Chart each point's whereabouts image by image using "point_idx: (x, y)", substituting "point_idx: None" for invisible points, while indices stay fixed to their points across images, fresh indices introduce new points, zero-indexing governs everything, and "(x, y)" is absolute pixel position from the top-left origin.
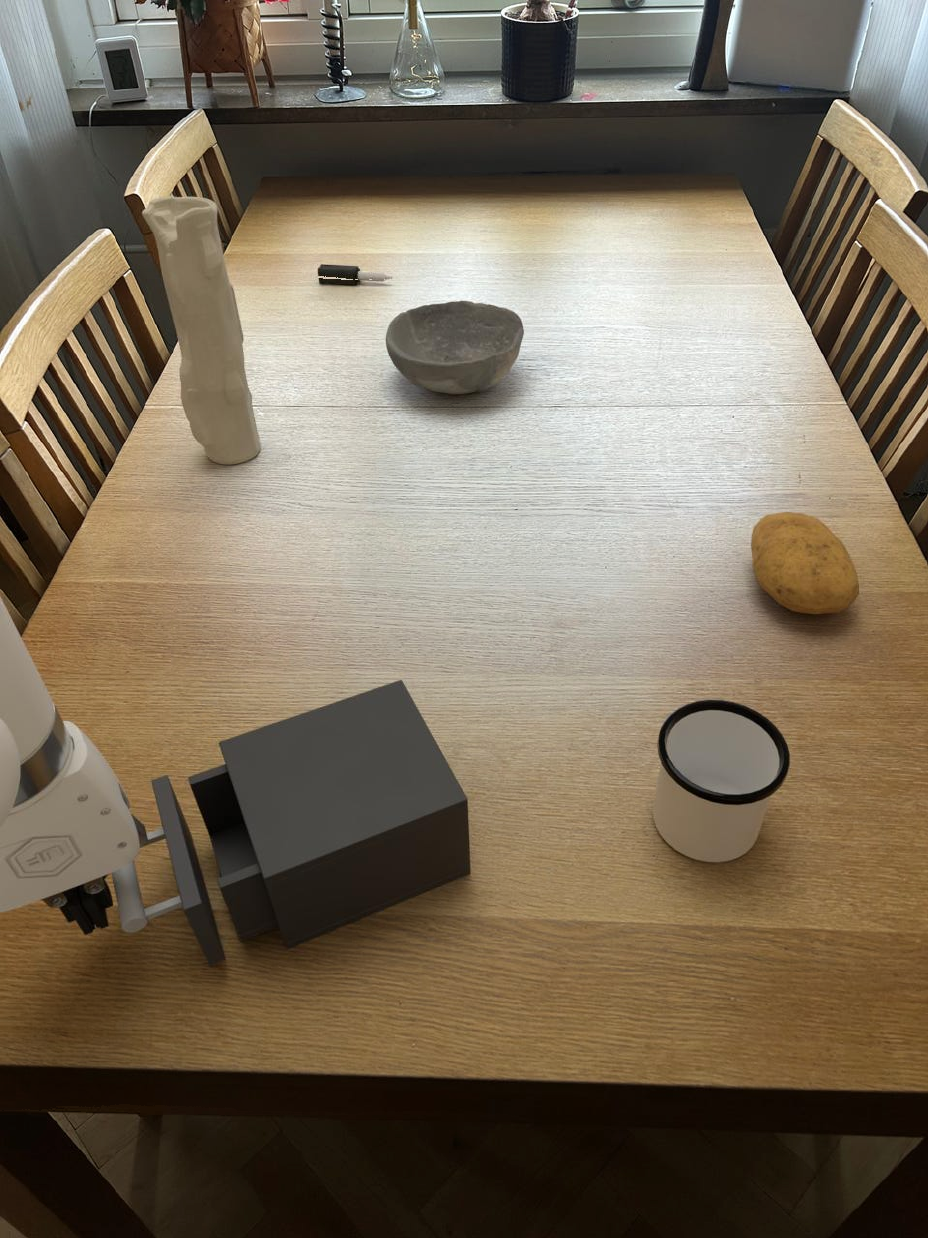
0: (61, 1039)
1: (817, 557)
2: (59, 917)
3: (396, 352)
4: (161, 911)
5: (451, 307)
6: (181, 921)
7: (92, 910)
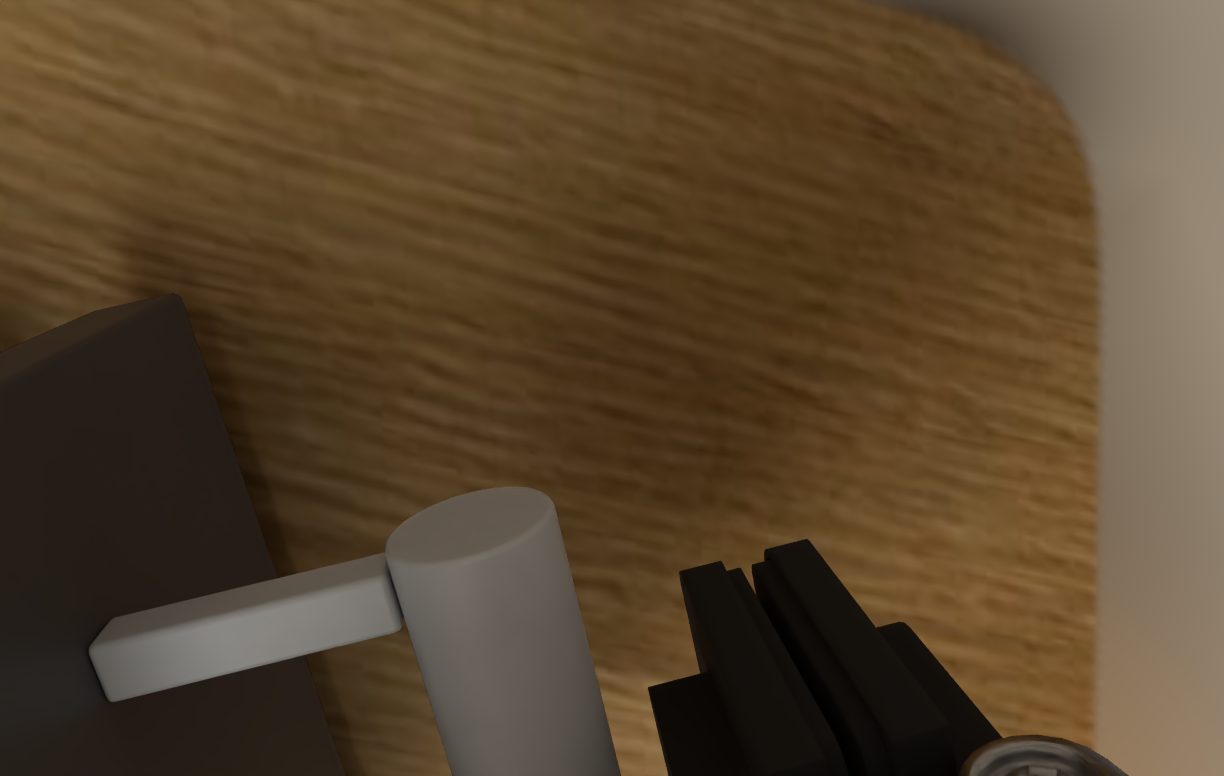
0: (895, 106)
1: None
2: None
3: None
4: (275, 596)
5: None
6: None
7: (763, 676)
